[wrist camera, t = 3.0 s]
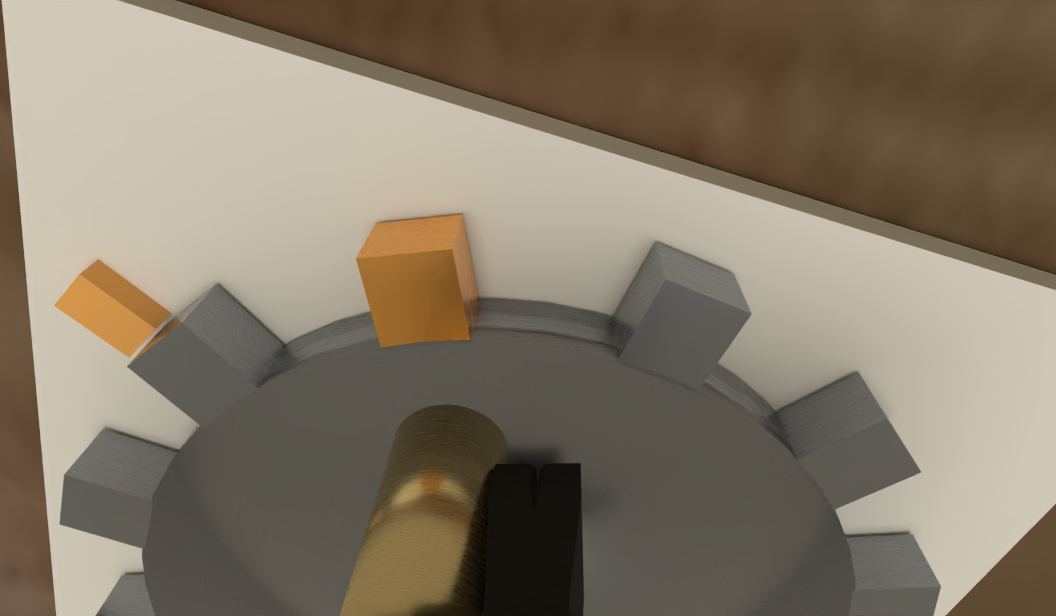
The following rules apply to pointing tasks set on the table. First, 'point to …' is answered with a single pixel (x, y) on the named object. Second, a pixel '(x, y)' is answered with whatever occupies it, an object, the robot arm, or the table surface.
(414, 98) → the base board
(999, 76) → the table surface
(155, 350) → the sprocket
